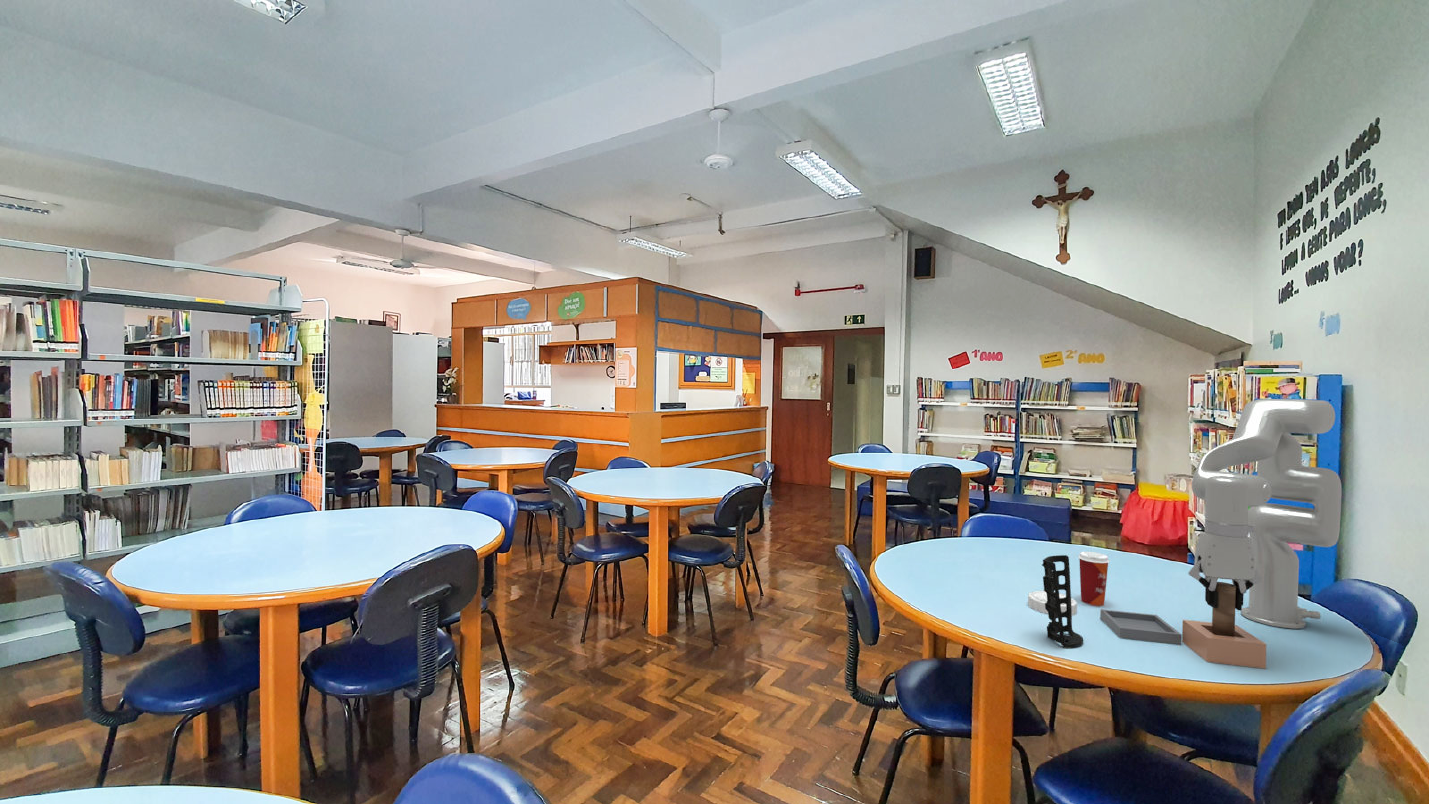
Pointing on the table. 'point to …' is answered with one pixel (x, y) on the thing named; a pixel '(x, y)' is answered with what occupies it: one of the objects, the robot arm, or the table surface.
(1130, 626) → the tray
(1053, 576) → the holder
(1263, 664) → the well block
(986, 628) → the table surface
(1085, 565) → the paper cup
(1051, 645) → the table surface
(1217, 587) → the dowel pin
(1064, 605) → the mooncake
